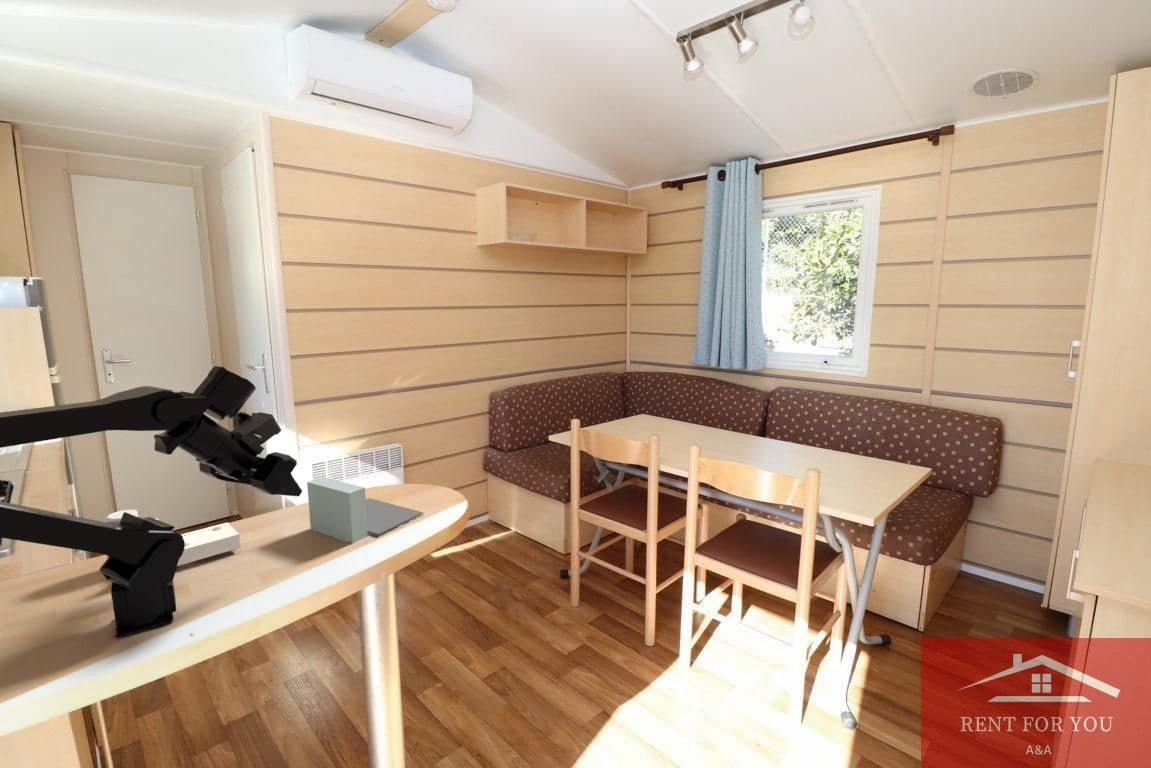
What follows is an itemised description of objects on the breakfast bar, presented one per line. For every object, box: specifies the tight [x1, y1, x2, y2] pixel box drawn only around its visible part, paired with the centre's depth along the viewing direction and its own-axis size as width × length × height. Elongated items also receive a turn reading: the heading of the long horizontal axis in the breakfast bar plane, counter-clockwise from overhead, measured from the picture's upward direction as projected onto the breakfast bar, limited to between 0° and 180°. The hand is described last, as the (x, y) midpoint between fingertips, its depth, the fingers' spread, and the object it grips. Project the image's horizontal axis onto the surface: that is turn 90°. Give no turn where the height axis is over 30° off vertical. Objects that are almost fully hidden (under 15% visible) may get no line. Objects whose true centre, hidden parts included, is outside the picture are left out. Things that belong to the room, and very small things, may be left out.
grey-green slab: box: [306, 476, 369, 544], centre depth 108 cm, size 4×12×10 cm, turn 61°
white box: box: [156, 517, 241, 567], centre depth 98 cm, size 13×7×8 cm, turn 136°
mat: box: [365, 497, 424, 538], centre depth 117 cm, size 12×16×1 cm
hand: (283, 488), depth 98 cm, fingers open, 9 cm apart
